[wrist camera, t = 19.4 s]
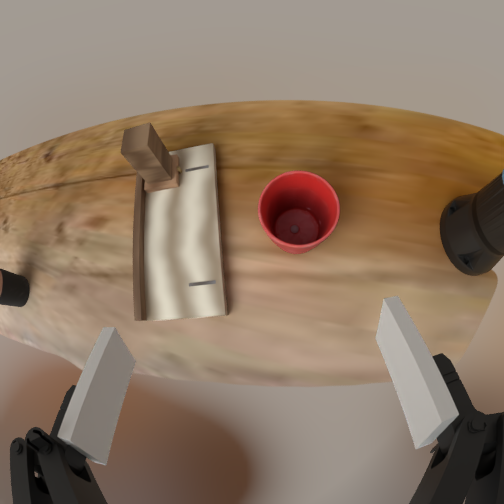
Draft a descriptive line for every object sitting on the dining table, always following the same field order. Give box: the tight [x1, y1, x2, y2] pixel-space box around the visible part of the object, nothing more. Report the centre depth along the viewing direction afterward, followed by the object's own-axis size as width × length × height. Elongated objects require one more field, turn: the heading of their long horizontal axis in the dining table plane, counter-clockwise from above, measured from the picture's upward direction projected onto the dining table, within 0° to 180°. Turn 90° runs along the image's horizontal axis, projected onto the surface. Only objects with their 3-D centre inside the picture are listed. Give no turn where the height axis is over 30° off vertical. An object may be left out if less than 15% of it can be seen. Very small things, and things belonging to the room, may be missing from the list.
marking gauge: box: [121, 123, 182, 193], centre depth 42 cm, size 7×6×12 cm
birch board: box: [133, 143, 228, 321], centre depth 45 cm, size 14×30×4 cm, turn 6°
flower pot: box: [258, 171, 340, 254], centre depth 40 cm, size 11×11×10 cm
